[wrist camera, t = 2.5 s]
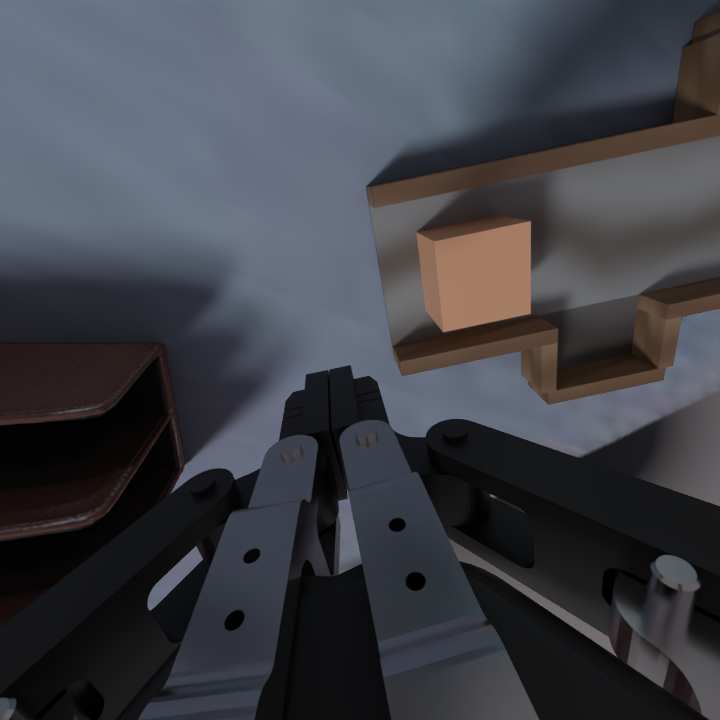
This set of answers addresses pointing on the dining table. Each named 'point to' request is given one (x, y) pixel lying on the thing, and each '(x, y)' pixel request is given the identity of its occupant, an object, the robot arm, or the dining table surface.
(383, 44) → the dining table surface
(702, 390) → the dining table surface
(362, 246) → the dining table surface
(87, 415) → the letter holder
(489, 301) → the block
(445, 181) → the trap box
